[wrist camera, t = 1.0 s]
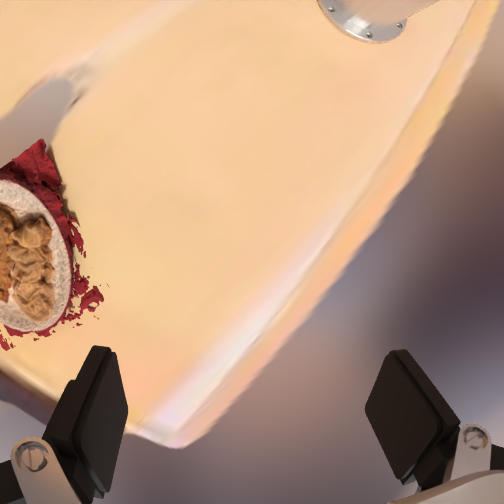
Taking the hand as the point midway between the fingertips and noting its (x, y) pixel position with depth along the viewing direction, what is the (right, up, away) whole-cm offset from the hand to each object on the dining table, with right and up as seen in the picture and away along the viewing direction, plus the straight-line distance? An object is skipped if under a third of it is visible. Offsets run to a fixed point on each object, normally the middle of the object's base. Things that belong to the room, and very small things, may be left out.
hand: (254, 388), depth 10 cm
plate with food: (-34, +3, +26) cm, 42 cm away
